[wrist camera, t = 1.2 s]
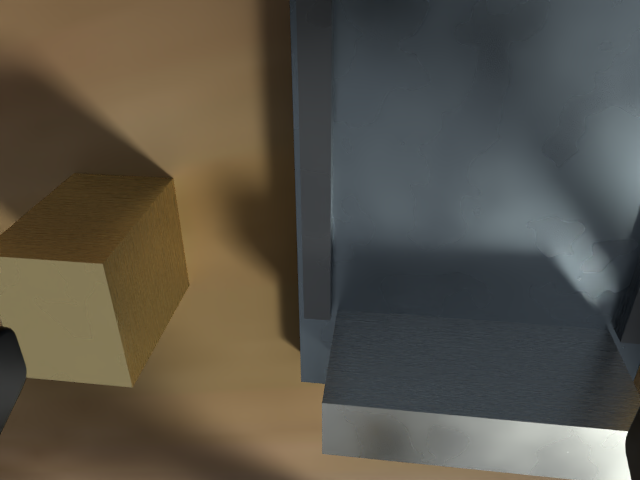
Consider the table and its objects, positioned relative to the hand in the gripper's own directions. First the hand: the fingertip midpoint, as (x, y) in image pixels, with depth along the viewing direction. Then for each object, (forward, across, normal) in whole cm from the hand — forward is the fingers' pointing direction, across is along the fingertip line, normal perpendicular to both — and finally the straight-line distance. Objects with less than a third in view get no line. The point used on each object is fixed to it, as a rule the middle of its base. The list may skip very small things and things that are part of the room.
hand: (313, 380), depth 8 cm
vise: (+13, -4, +1) cm, 14 cm away
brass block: (+13, +9, +6) cm, 17 cm away
